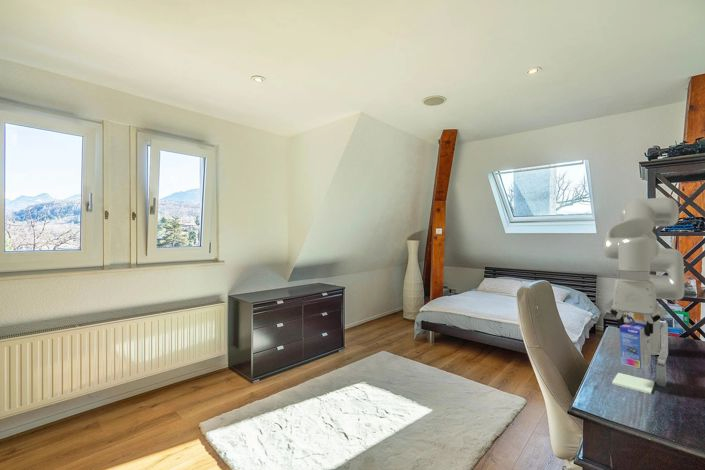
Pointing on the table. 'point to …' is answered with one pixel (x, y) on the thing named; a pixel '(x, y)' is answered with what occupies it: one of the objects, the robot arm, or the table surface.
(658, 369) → the rail block
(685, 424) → the table surface
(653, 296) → the robot arm
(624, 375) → the felt pad
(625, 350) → the ink cartridge box
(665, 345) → the grey angled frame
